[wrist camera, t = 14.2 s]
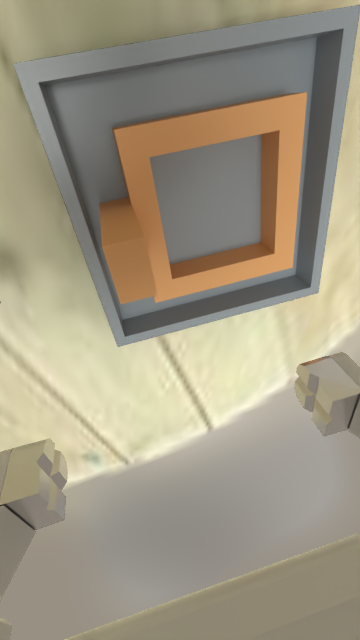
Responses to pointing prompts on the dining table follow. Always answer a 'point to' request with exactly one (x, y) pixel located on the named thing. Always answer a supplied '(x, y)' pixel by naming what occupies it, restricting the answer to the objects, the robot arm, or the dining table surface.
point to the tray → (197, 151)
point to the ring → (143, 211)
